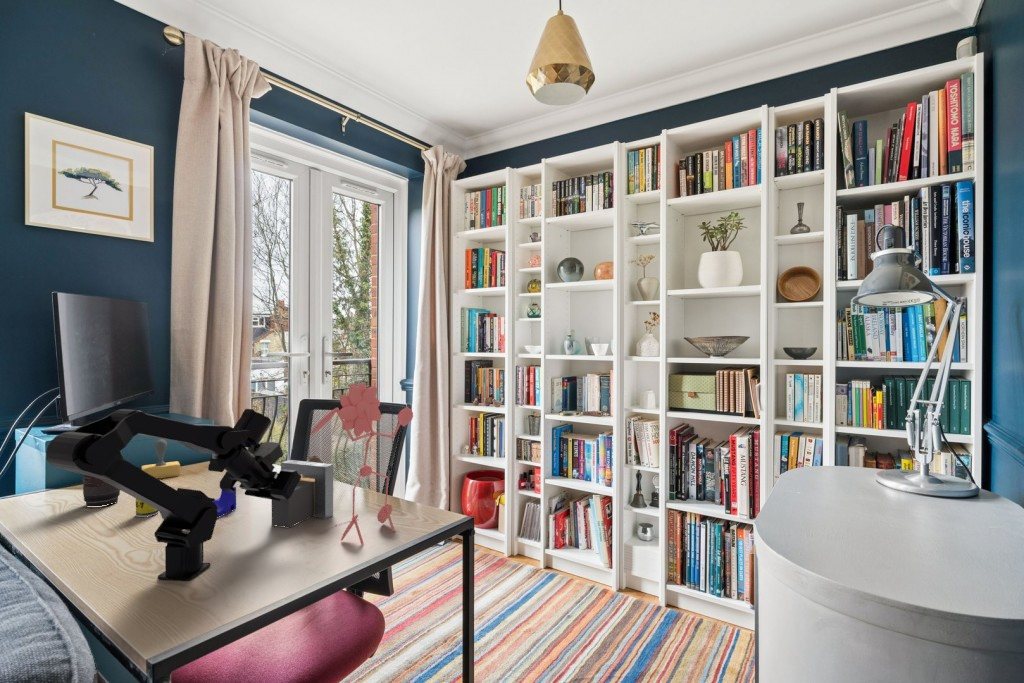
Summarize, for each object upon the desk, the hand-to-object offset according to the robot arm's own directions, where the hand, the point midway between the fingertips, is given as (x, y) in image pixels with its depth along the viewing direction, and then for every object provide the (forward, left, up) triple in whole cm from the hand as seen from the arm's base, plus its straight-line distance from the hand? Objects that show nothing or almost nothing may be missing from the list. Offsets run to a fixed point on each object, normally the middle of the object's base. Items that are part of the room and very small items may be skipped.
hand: (279, 498), depth 124 cm
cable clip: (+6, +21, -7) cm, 23 cm away
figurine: (-1, -20, -7) cm, 21 cm away
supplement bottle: (+6, +37, -7) cm, 39 cm away
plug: (+6, -2, -7) cm, 9 cm away
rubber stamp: (+40, +59, -7) cm, 72 cm away
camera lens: (+13, +55, -7) cm, 57 cm away
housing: (+9, -2, -7) cm, 12 cm away
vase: (+34, +6, -7) cm, 35 cm away
